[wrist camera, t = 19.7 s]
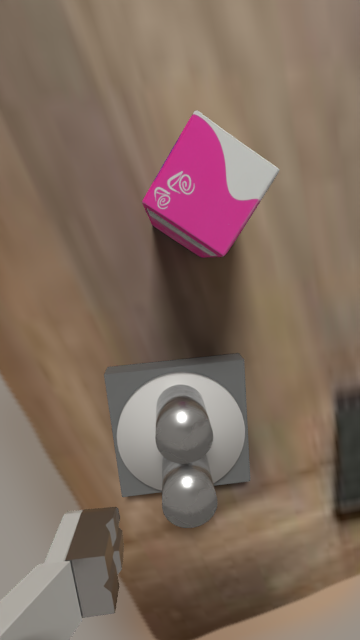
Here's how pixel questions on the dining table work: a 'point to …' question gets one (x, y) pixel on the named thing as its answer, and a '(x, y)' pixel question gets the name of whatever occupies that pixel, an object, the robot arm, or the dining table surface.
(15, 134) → the dining table surface
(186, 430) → the cylinder
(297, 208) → the dining table surface
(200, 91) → the dining table surface
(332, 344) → the dining table surface
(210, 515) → the cylinder
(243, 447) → the scale
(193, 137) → the supplement box
